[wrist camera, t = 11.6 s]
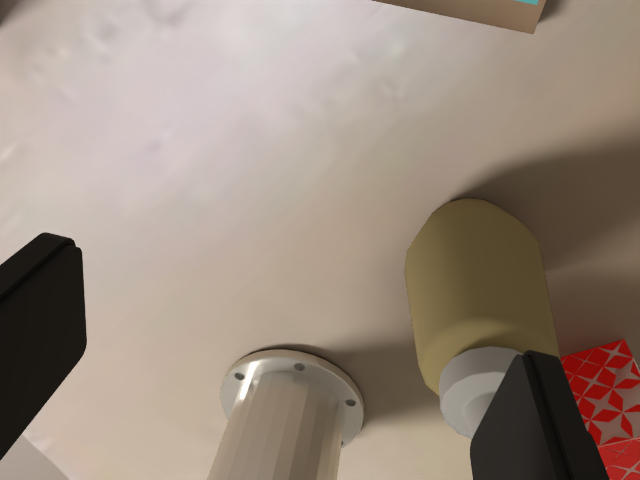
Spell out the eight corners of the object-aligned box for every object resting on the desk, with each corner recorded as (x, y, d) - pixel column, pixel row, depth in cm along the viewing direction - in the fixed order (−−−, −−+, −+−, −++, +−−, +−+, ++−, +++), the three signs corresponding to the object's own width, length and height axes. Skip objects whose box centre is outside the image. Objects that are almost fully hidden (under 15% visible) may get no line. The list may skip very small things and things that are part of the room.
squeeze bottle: (553, 199, 32) (677, 454, 17) (501, 296, 37) (563, 567, 22) (426, 166, 32) (439, 391, 17) (390, 267, 37) (375, 516, 22)
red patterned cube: (515, 369, 40) (535, 460, 34) (624, 338, 37) (669, 431, 30) (553, 432, 43) (578, 527, 37) (656, 408, 40) (703, 506, 33)
